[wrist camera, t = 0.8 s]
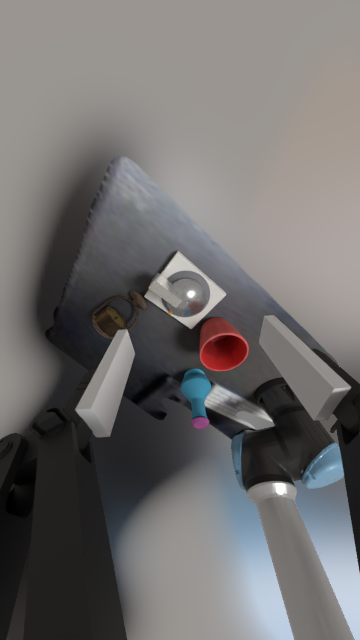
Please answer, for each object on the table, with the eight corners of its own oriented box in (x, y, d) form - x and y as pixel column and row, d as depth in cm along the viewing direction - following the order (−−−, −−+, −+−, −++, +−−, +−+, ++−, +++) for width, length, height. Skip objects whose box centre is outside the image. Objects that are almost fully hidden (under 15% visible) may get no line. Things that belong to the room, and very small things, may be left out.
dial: (212, 293, 35) (220, 307, 29) (187, 319, 38) (189, 336, 32) (168, 256, 31) (166, 263, 25) (144, 288, 34) (137, 302, 28)
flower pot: (188, 338, 44) (191, 365, 36) (206, 305, 39) (214, 327, 31) (221, 349, 47) (231, 376, 38) (242, 319, 41) (259, 342, 33)
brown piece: (74, 306, 33) (93, 348, 36) (130, 293, 30) (146, 339, 33) (95, 298, 40) (110, 334, 43) (143, 287, 37) (155, 326, 40)
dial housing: (224, 291, 37) (227, 295, 35) (190, 325, 42) (191, 330, 40) (177, 250, 33) (178, 252, 31) (145, 293, 37) (143, 297, 35)
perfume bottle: (196, 388, 55) (202, 437, 42) (174, 378, 53) (174, 428, 40) (214, 373, 52) (227, 422, 39) (191, 361, 49) (197, 410, 36)
